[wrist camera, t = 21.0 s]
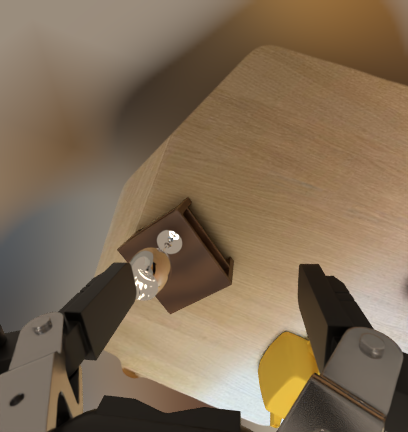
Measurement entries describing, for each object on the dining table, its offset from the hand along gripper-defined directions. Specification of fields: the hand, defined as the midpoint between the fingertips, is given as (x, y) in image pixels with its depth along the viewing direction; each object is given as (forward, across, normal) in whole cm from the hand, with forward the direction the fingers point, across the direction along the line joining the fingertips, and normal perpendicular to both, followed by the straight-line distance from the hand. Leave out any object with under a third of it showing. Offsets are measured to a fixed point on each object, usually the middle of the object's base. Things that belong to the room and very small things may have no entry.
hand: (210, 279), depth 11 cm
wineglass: (+25, +11, +10) cm, 29 cm away
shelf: (+33, +11, +15) cm, 38 cm away
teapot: (+33, -10, +44) cm, 56 cm away
